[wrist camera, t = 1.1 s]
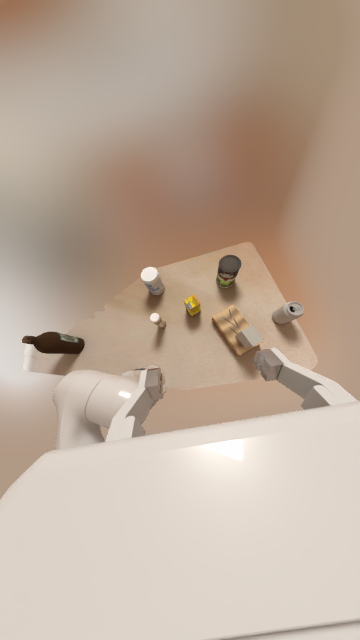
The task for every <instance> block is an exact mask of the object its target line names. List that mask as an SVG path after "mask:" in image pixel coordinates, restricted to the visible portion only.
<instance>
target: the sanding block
mask: <svg viewBox="0 0 360 640" xmlns="http://www.w3.org/2000/svg"><path fill="white" fill-rule="evenodd" d="M235 336H236V337H237V339H238V340H239V341H240V343H241V344H242V346H243V347H244V348H249V347H253V346H255V345H256V344H258V343H260V342H261V341H263V340H264V339H263V338H262V336H261V335H260V334H259V333H258V331H257V330H256V329H255V328H254V326H253V325H251V326H249V327H247V328H246V329H244V330H242V331H241V332H239V333H238V334H237V335H235Z"/></svg>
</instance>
